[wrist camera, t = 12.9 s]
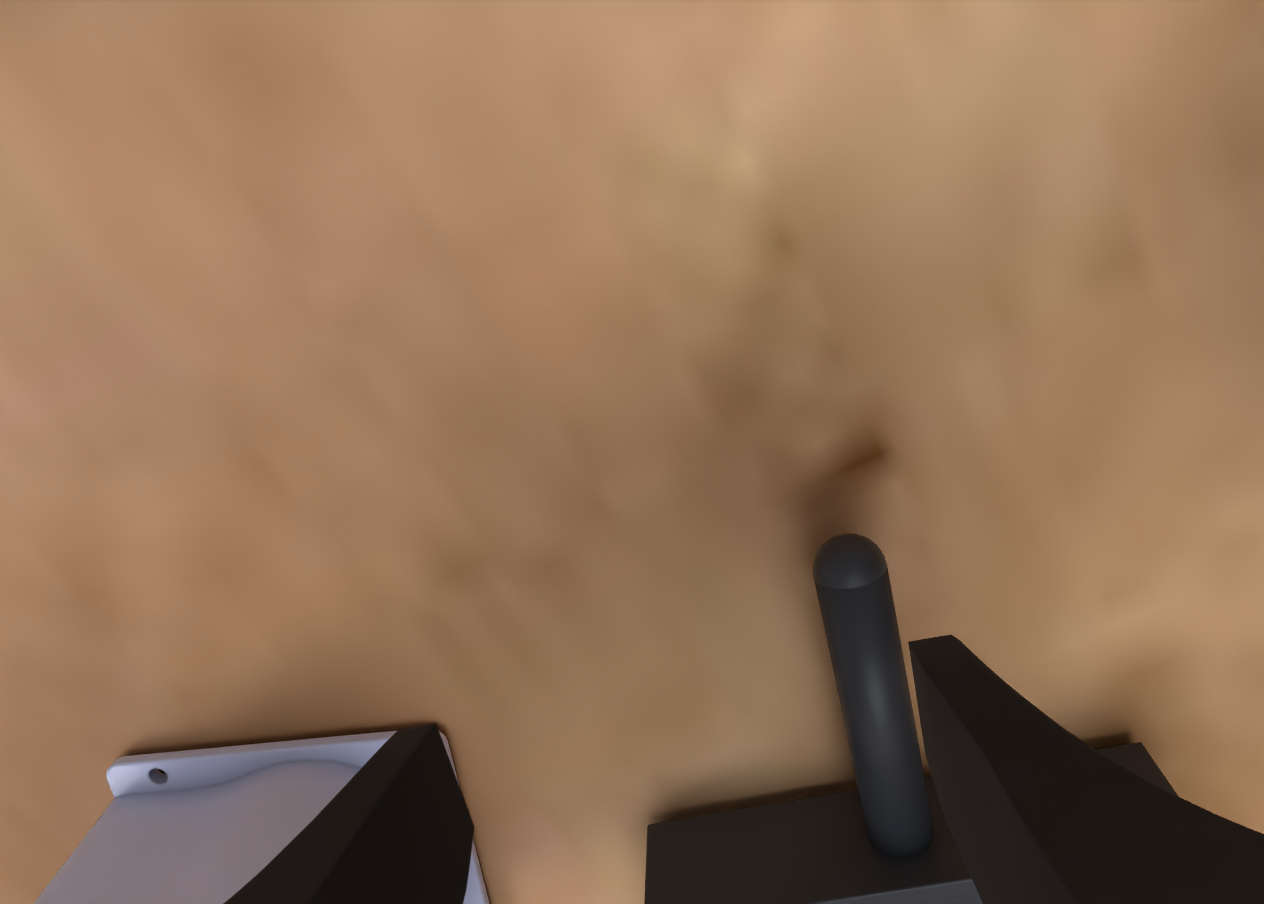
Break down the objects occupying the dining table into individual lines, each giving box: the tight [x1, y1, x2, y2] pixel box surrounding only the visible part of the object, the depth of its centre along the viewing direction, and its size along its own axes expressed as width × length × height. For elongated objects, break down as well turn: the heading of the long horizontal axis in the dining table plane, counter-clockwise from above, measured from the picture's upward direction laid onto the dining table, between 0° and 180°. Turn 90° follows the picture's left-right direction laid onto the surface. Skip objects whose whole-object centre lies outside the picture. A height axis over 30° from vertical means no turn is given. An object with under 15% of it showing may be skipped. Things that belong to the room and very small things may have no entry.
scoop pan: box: [645, 534, 1178, 904], centre depth 25 cm, size 19×13×4 cm
